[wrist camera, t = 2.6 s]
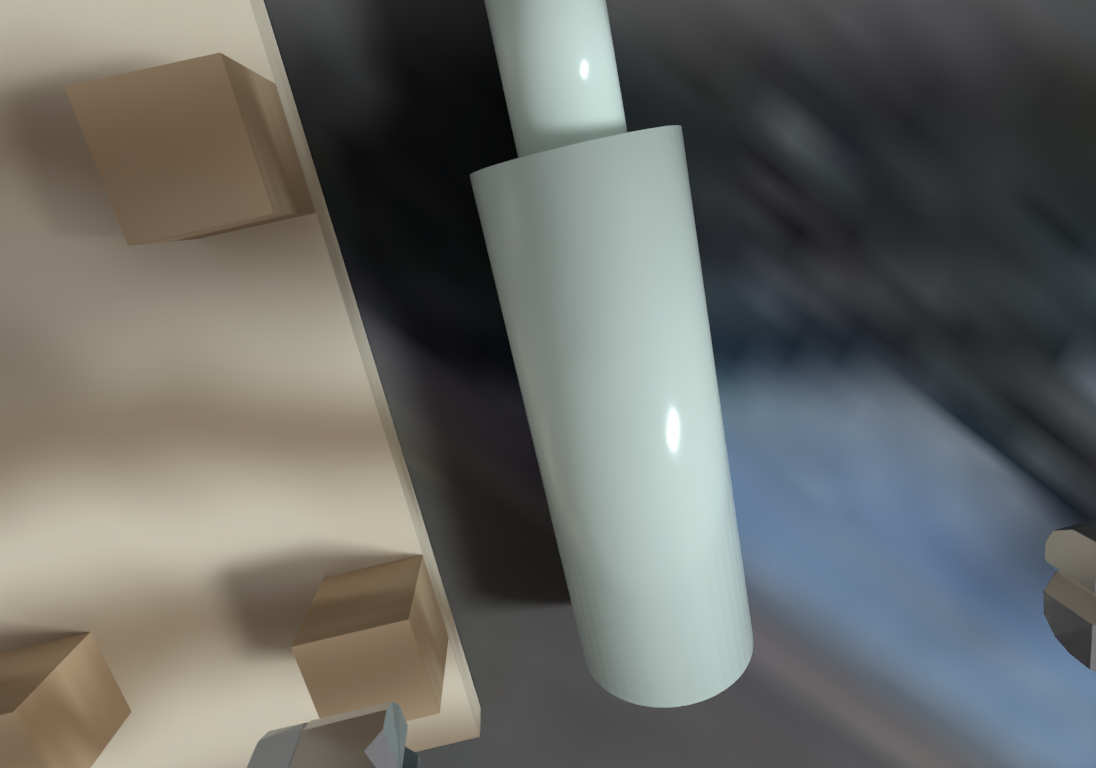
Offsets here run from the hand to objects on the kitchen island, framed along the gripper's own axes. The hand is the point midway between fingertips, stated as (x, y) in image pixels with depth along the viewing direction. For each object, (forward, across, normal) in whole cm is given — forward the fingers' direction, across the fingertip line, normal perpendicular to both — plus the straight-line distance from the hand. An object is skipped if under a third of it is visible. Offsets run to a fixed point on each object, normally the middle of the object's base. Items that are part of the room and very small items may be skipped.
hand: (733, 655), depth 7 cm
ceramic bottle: (+12, -1, -1) cm, 12 cm away
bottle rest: (+12, +12, -2) cm, 17 cm away
